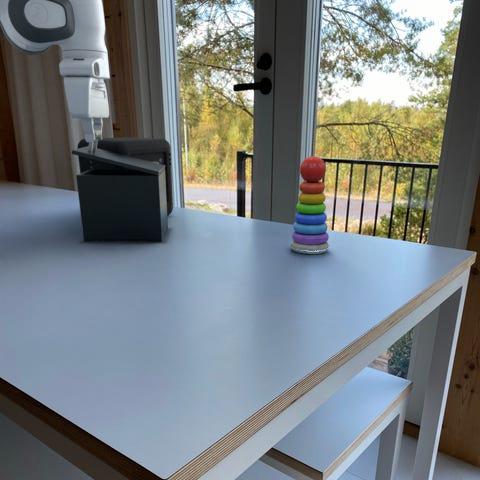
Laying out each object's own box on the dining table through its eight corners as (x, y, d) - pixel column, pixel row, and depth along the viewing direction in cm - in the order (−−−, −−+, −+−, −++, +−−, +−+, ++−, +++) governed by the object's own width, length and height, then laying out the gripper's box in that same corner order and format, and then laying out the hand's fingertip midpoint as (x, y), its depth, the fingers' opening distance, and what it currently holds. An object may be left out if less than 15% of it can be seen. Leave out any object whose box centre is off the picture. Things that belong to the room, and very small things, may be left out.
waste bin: (83, 241, 104) (76, 175, 98) (98, 227, 116) (92, 168, 111) (162, 241, 104) (158, 175, 99) (167, 228, 117) (165, 169, 112)
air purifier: (125, 228, 116) (118, 141, 108) (84, 221, 123) (75, 139, 115) (177, 215, 132) (174, 138, 124) (138, 209, 139) (133, 137, 131)
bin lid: (71, 153, 96) (74, 126, 94) (88, 149, 109) (91, 125, 107) (158, 175, 99) (162, 149, 97) (164, 168, 112) (168, 145, 110)
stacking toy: (309, 243, 105) (316, 154, 97) (336, 251, 99) (345, 157, 91) (282, 248, 100) (287, 155, 93) (308, 257, 94) (315, 158, 87)
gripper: (84, 73, 106) (91, 139, 111) (55, 63, 87) (66, 143, 93) (112, 73, 106) (118, 139, 112) (90, 64, 88) (98, 144, 93)
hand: (94, 141), depth 102 cm, fingers closed on bin lid, 5 cm apart
